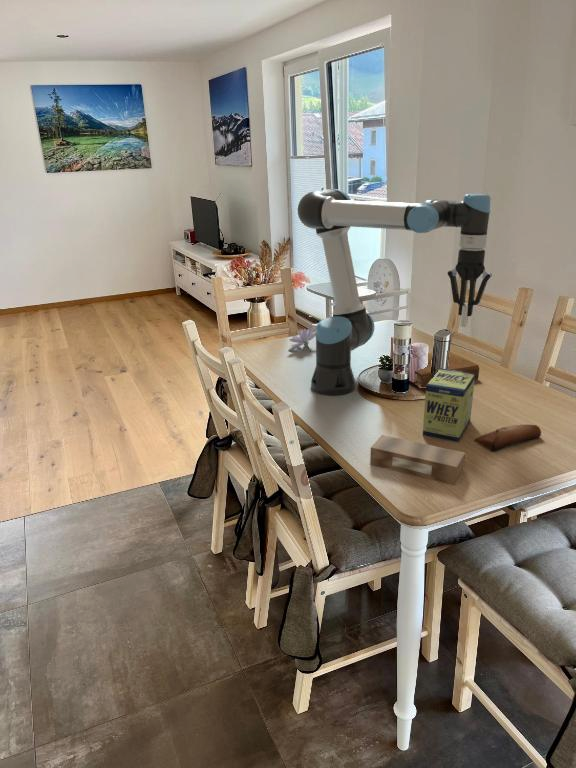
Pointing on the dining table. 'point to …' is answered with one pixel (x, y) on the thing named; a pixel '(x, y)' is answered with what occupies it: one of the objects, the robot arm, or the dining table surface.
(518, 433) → the sunglasses case
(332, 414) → the dining table surface
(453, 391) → the protein box
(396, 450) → the display riser
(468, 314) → the robot arm
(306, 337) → the water lily
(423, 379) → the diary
